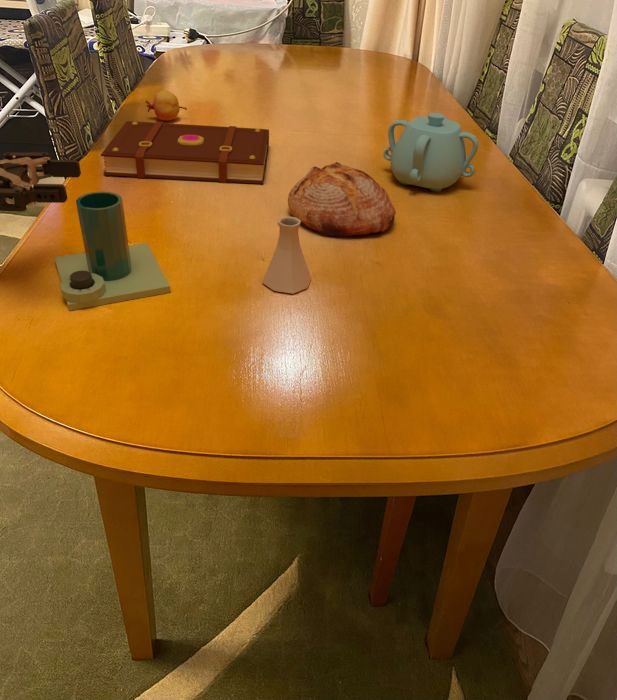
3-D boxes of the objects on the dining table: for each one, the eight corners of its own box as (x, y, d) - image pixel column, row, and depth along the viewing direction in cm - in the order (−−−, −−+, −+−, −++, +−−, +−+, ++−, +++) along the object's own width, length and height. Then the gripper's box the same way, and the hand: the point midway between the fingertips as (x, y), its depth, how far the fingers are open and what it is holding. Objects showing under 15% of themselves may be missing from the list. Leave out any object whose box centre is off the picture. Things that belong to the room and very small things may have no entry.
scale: (66, 313, 82) (63, 297, 80) (53, 263, 92) (49, 248, 90) (171, 293, 87) (170, 278, 86) (147, 248, 97) (146, 234, 96)
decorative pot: (376, 167, 132) (384, 102, 124) (444, 165, 136) (456, 101, 127) (401, 197, 120) (412, 128, 112) (476, 194, 123) (491, 126, 115)
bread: (292, 200, 118) (295, 148, 112) (394, 211, 116) (401, 158, 111) (279, 233, 104) (281, 175, 99) (393, 245, 103) (401, 187, 97)
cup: (113, 285, 86) (102, 213, 79) (80, 274, 88) (66, 203, 81) (139, 267, 90) (131, 197, 84) (107, 257, 92) (96, 188, 86)
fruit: (186, 91, 150) (144, 89, 149) (186, 91, 144) (142, 89, 142) (187, 120, 153) (146, 119, 151) (187, 122, 147) (144, 120, 145)
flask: (279, 265, 95) (281, 205, 89) (319, 279, 93) (324, 218, 87) (253, 284, 90) (253, 223, 84) (294, 300, 88) (298, 237, 82)
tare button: (73, 292, 82) (71, 282, 81) (70, 282, 84) (68, 272, 83) (94, 288, 83) (93, 278, 82) (91, 278, 85) (89, 269, 84)
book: (263, 185, 121) (263, 160, 118) (103, 176, 119) (99, 151, 116) (268, 146, 139) (269, 124, 136) (130, 138, 137) (127, 116, 134)
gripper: (-29, 185, 87) (88, 186, 88) (-69, 229, 75) (66, 230, 77) (-45, 132, 82) (79, 134, 84) (-90, 171, 71) (54, 173, 72)
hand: (73, 180), depth 80 cm, fingers open, 8 cm apart
